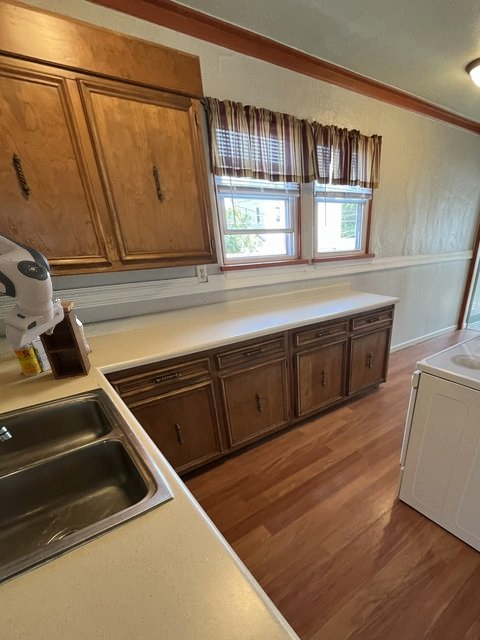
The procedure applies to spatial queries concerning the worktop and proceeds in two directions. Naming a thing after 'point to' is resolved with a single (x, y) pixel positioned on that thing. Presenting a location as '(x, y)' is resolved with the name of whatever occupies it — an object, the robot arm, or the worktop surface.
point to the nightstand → (66, 349)
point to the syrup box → (40, 354)
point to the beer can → (27, 361)
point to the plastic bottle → (83, 336)
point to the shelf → (67, 306)
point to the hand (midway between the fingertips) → (38, 340)
